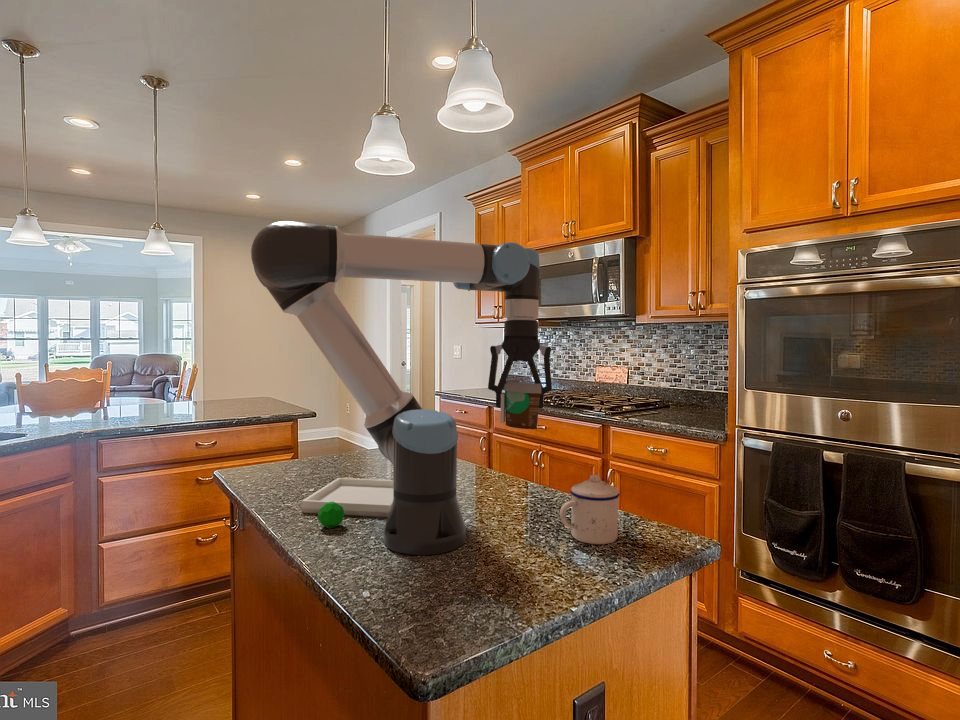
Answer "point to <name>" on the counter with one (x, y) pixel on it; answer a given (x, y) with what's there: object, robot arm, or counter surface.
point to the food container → (521, 404)
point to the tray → (354, 497)
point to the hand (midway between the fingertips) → (519, 422)
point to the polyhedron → (331, 514)
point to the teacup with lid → (593, 511)
